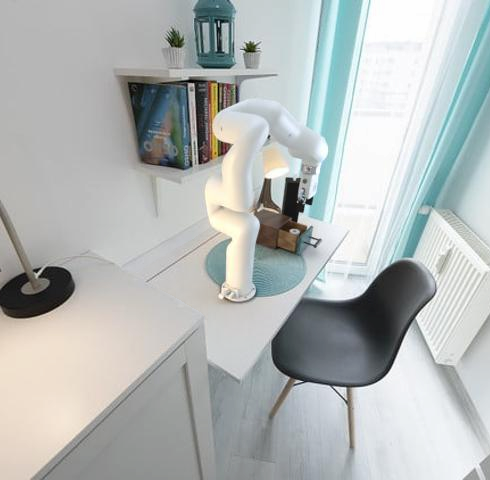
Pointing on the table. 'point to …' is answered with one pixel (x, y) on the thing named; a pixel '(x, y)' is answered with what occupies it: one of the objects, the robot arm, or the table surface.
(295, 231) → the paper towel roll
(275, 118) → the robot arm
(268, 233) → the cabinet
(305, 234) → the drawer
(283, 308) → the table surface
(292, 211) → the black square column
